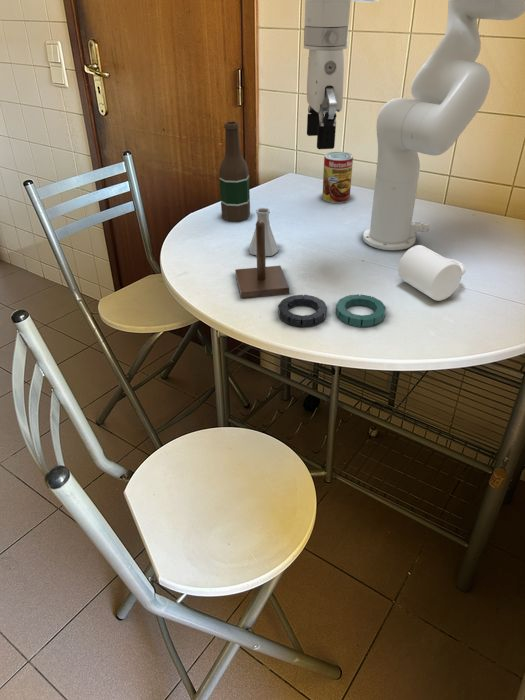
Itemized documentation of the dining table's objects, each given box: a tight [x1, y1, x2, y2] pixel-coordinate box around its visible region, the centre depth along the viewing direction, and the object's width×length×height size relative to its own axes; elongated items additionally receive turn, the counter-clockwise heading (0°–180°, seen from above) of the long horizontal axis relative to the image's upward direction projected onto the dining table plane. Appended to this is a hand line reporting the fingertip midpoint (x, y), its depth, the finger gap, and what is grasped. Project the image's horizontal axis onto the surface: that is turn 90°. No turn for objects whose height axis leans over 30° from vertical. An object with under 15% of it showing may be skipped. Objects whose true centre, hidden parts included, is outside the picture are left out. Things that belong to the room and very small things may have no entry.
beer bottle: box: [218, 120, 251, 223], centre depth 135 cm, size 8×8×24 cm
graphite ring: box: [277, 294, 328, 328], centre depth 102 cm, size 9×9×2 cm
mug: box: [397, 244, 467, 302], centre depth 107 cm, size 12×10×8 cm
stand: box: [234, 220, 290, 299], centre depth 108 cm, size 10×10×14 cm
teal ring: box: [335, 294, 387, 328], centre depth 101 cm, size 9×9×2 cm
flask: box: [248, 207, 279, 257], centre depth 122 cm, size 7×7×10 cm
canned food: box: [321, 151, 354, 204], centre depth 148 cm, size 8×8×12 cm
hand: (319, 141), depth 101 cm, fingers open, 9 cm apart
